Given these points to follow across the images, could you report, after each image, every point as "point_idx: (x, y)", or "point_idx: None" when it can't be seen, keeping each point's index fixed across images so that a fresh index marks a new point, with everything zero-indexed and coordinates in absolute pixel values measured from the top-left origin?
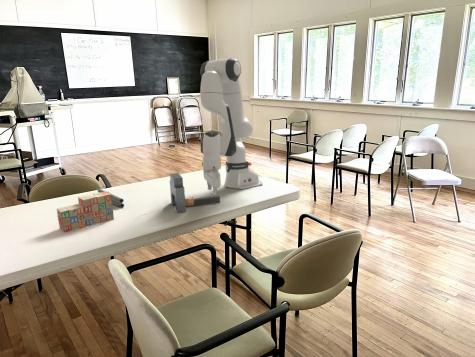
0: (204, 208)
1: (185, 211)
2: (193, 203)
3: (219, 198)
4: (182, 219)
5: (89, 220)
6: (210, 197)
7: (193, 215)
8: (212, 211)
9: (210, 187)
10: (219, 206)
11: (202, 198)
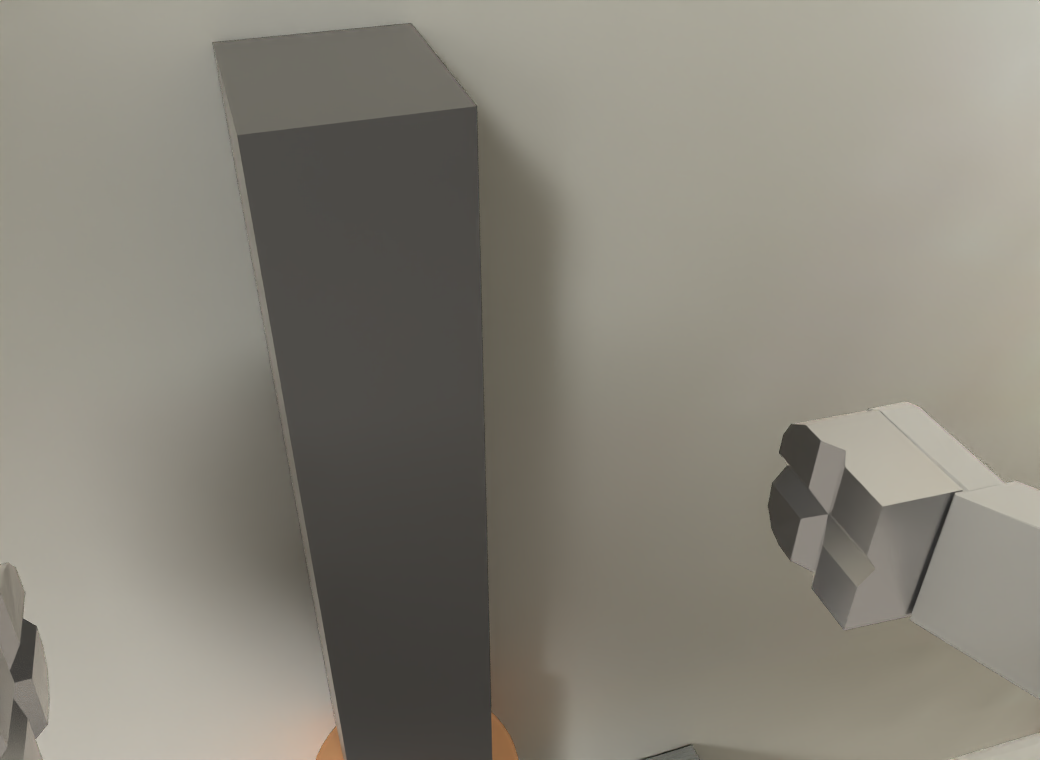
0: (703, 483)
1: (695, 753)
2: (504, 737)
3: (452, 92)
4: (941, 729)
5: None
6: (437, 452)
7: (908, 629)
8: (961, 338)
9: (16, 708)
10: (772, 125)
11: (443, 652)
